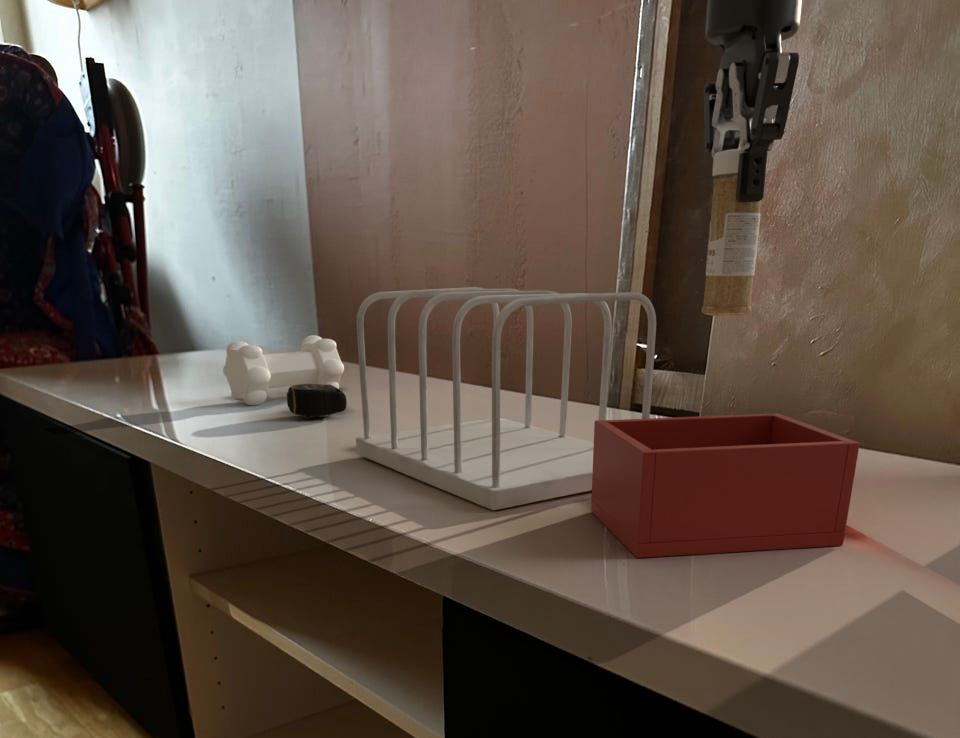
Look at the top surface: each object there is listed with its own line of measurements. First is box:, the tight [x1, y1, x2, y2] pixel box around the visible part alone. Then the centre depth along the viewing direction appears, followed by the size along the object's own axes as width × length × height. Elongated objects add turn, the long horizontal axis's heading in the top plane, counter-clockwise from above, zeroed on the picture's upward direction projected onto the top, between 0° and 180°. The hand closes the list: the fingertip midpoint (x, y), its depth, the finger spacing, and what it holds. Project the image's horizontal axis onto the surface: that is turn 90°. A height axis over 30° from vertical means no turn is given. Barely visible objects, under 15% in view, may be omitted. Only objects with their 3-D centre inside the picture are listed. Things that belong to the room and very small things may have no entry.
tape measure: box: [286, 384, 348, 420], centre depth 108 cm, size 7×7×4 cm
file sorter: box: [355, 286, 657, 511], centre depth 78 cm, size 25×17×16 cm
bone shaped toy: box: [222, 334, 345, 406], centre depth 121 cm, size 15×9×8 cm, turn 132°
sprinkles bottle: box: [701, 149, 769, 317], centre depth 78 cm, size 5×5×14 cm
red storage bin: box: [590, 412, 861, 559], centre depth 62 cm, size 15×12×7 cm
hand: (736, 202), depth 77 cm, fingers closed on sprinkles bottle, 4 cm apart
